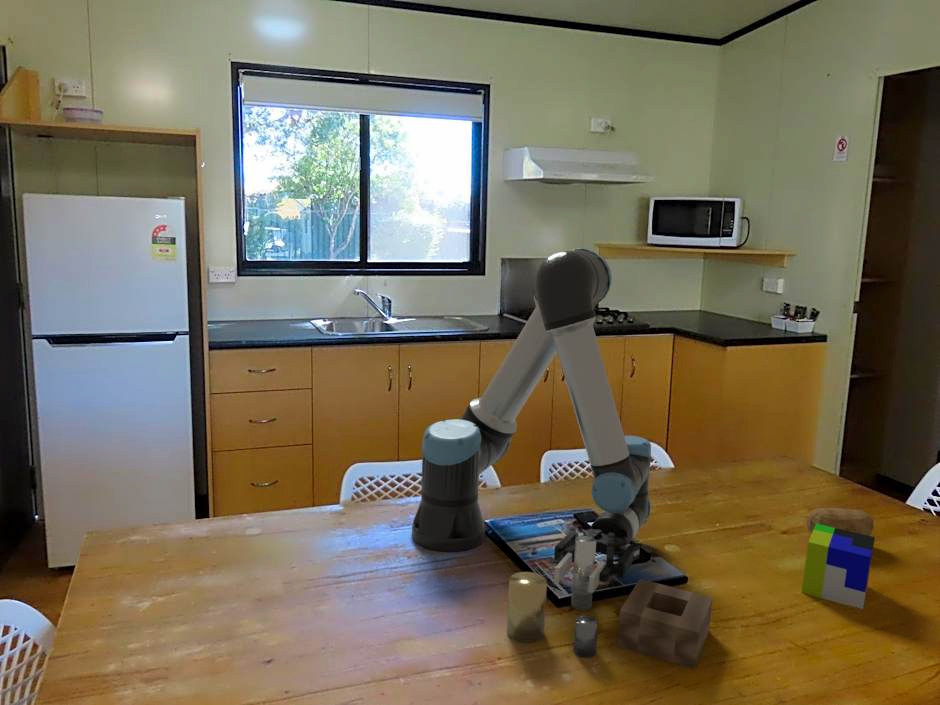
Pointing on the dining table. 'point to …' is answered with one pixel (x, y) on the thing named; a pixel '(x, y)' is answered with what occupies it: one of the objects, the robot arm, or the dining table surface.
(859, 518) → the potato
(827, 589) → the puzzle toy
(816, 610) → the dining table surface
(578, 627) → the short dark roller
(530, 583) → the fat brass roller
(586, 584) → the steel roller
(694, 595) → the walnut block
